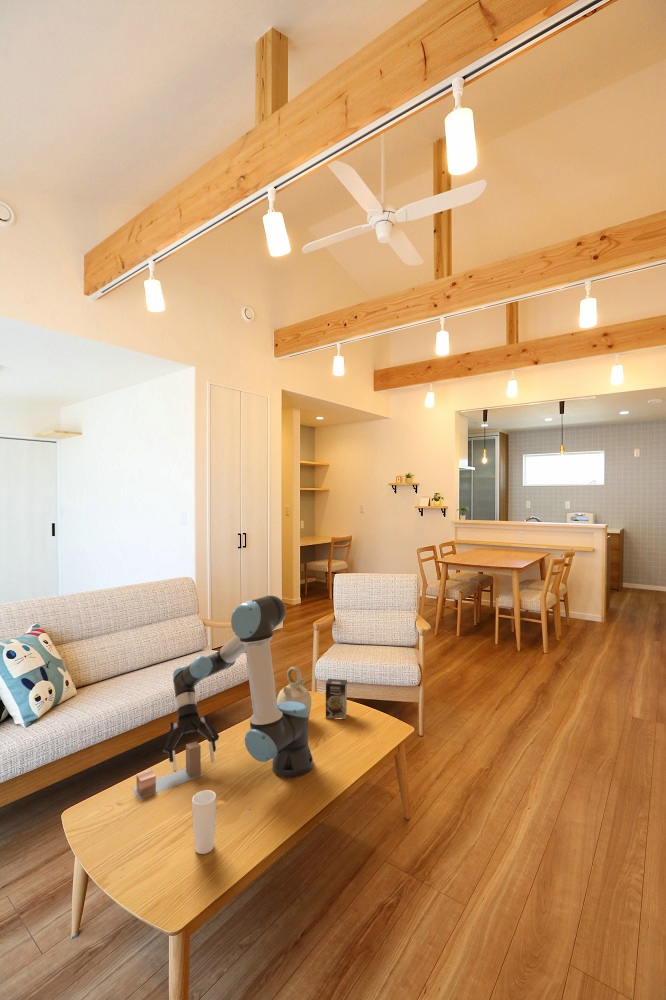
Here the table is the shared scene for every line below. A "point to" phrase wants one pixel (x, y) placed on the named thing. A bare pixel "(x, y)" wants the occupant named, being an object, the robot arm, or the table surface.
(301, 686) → the jug
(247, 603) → the robot arm
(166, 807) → the table surface
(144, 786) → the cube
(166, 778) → the strip
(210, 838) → the drinking glass
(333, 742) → the table surface
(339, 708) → the coffee box
